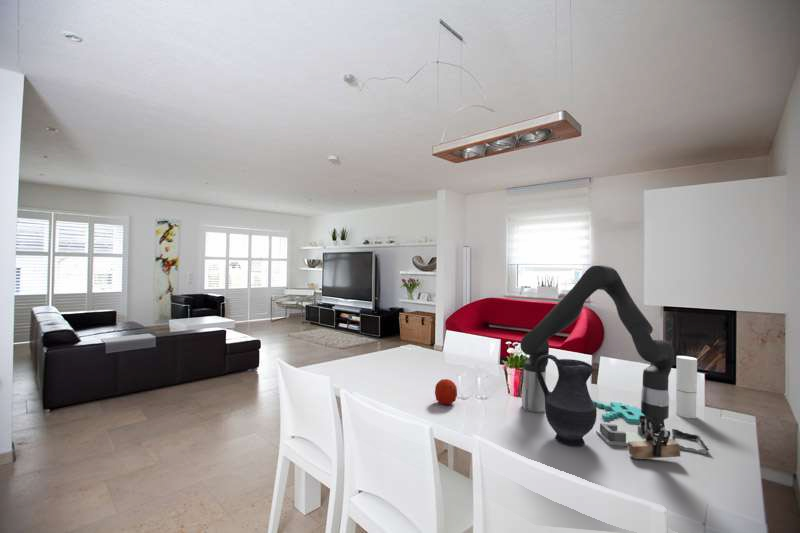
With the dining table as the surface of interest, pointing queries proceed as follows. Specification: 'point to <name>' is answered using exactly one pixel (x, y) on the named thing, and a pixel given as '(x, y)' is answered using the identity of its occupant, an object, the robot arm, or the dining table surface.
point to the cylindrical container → (686, 386)
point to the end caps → (616, 432)
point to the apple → (445, 392)
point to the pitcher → (569, 400)
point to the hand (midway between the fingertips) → (653, 453)
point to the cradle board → (629, 438)
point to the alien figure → (620, 412)
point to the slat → (646, 449)
